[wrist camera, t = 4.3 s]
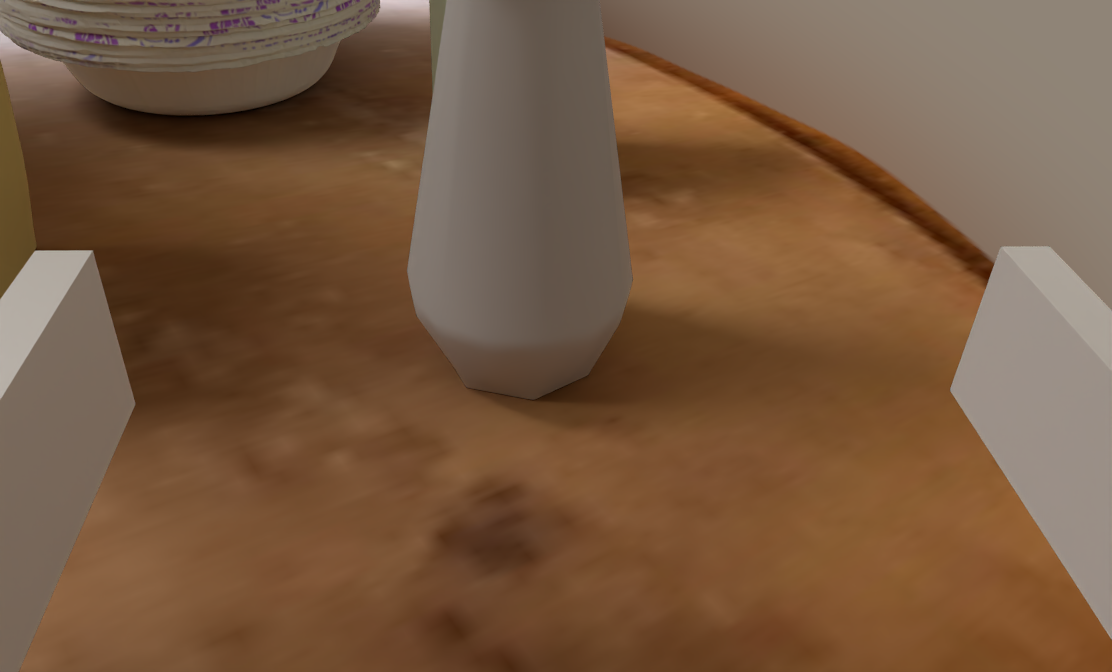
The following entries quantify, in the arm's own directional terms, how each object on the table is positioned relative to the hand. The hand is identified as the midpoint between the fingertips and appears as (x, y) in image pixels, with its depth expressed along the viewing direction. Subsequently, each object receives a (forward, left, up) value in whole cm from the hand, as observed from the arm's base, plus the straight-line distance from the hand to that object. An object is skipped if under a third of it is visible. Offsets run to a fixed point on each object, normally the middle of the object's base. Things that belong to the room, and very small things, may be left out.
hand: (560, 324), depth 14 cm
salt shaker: (-8, +5, -8) cm, 12 cm away
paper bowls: (-32, +7, -8) cm, 33 cm away
